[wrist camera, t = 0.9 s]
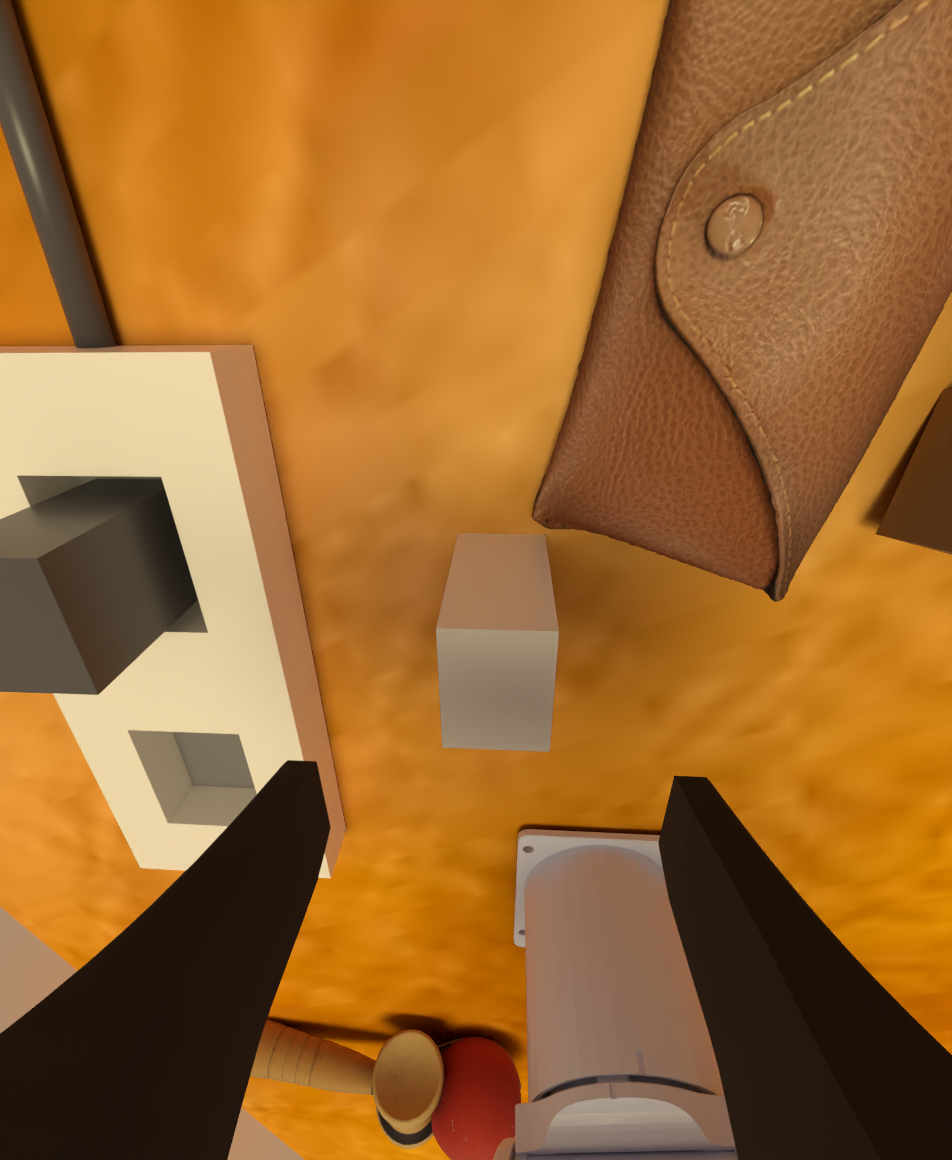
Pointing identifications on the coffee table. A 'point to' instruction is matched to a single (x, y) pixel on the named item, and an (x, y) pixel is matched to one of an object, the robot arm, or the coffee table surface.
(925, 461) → the photo frame
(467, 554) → the beige plug
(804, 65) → the sunglasses case
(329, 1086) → the kendama
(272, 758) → the power strip
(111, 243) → the coffee table surface
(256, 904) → the robot arm
